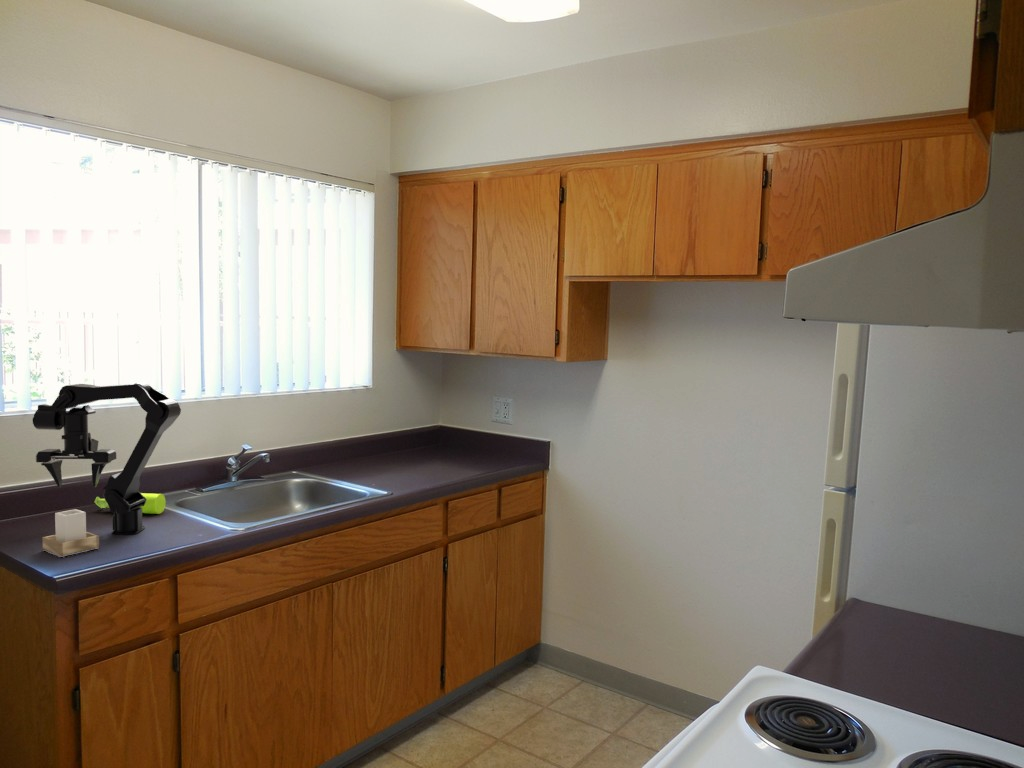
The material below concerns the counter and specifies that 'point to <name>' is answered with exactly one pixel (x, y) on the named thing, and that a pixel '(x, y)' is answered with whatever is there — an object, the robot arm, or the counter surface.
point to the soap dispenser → (152, 504)
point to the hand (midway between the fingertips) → (77, 486)
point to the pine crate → (70, 544)
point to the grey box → (70, 525)
